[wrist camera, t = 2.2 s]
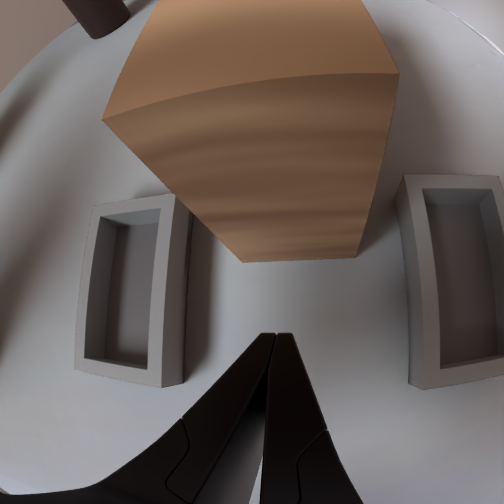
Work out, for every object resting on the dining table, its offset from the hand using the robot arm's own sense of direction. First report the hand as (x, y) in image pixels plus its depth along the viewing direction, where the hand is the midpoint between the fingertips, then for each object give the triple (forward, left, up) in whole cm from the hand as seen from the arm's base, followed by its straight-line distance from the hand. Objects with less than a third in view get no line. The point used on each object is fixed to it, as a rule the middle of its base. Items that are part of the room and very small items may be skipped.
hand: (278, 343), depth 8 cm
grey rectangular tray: (+4, +9, -7) cm, 12 cm away
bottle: (+44, +17, -7) cm, 48 cm away
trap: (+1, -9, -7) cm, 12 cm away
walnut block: (+11, -2, -7) cm, 13 cm away
